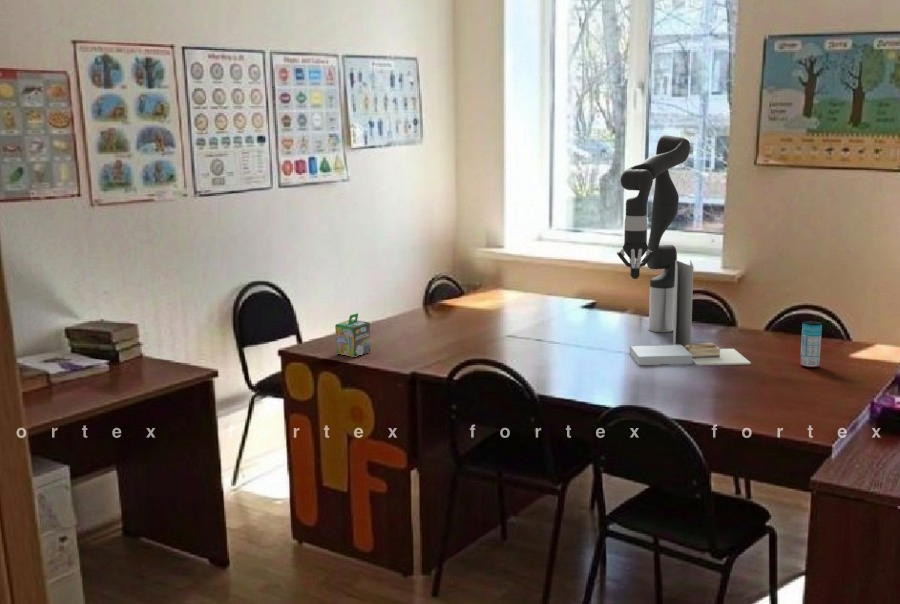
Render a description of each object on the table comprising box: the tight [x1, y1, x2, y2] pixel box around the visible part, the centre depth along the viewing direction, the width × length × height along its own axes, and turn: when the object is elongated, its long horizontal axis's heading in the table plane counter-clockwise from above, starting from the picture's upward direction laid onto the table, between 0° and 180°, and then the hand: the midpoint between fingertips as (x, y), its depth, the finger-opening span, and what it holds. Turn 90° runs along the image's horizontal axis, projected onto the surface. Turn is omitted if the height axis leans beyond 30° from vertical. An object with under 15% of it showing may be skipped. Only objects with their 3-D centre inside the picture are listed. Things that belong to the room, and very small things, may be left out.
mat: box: [692, 348, 752, 367], centre depth 303 cm, size 18×18×1 cm
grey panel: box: [672, 260, 694, 348], centre depth 317 cm, size 14×6×30 cm, turn 168°
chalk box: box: [334, 313, 371, 356], centre depth 317 cm, size 9×9×15 cm
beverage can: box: [799, 319, 823, 369], centre depth 288 cm, size 6×6×15 cm
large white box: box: [629, 343, 693, 366], centre depth 303 cm, size 14×18×3 cm
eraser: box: [684, 342, 721, 359], centre depth 303 cm, size 6×10×4 cm, turn 96°
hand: (634, 278), depth 304 cm, fingers closed
